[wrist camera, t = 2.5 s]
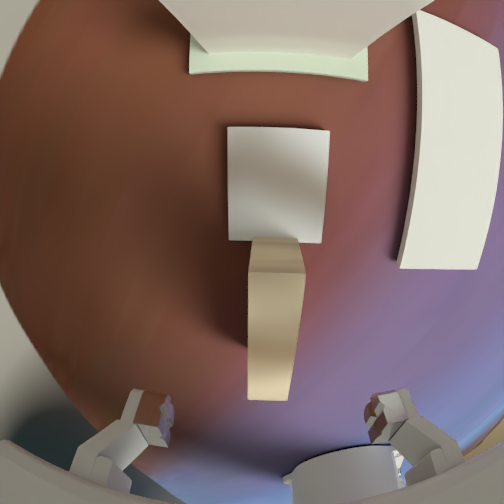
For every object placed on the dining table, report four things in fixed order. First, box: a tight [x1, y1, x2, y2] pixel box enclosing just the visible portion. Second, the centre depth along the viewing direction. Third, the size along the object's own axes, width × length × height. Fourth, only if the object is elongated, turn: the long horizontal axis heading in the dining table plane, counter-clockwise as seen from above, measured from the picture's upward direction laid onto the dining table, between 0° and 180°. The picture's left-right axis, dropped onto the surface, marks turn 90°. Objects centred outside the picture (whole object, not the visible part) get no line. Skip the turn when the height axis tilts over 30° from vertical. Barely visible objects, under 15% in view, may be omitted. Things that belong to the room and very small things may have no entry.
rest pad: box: [396, 10, 503, 269], centre depth 12 cm, size 16×7×1 cm, turn 179°
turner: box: [228, 127, 330, 401], centre depth 14 cm, size 15×5×4 cm, turn 179°
